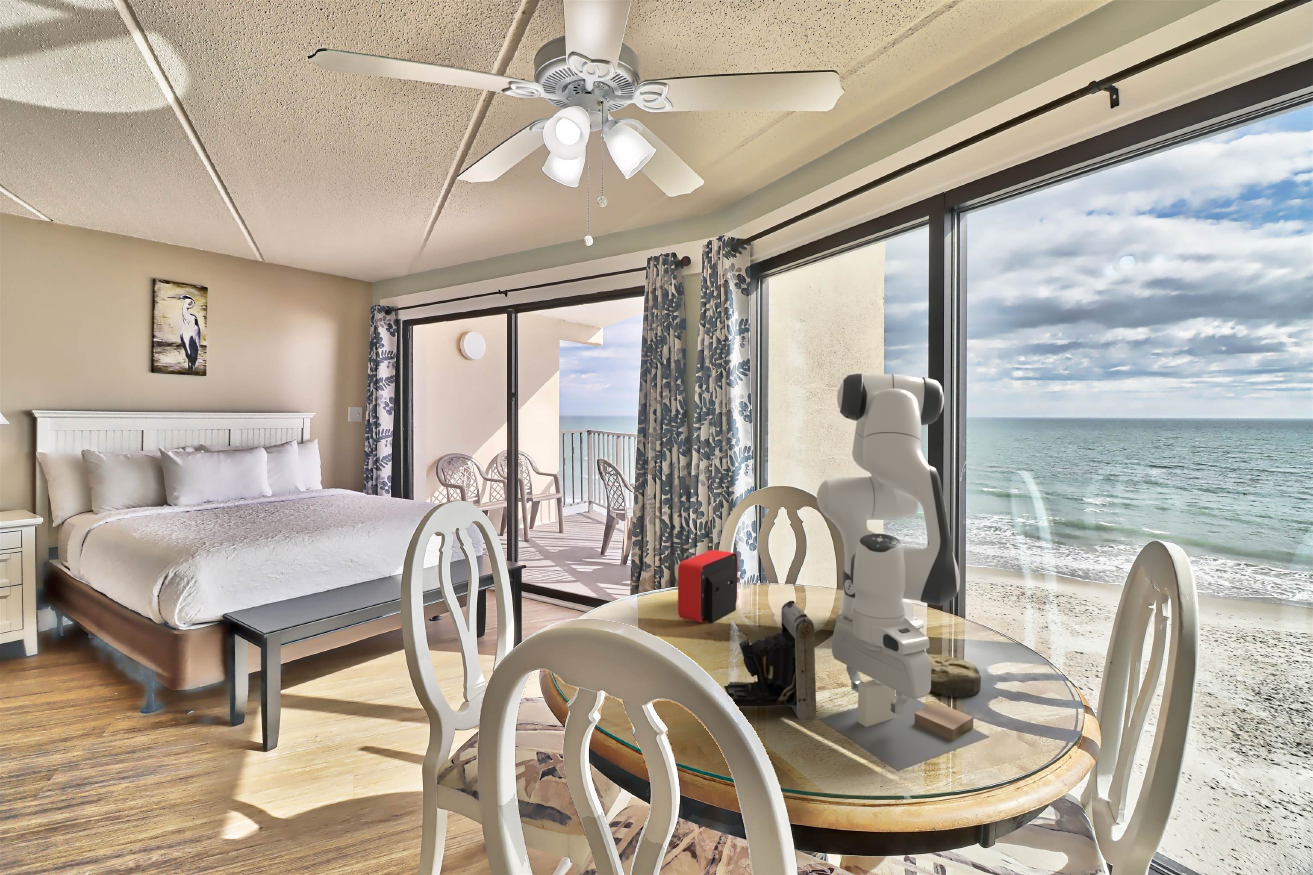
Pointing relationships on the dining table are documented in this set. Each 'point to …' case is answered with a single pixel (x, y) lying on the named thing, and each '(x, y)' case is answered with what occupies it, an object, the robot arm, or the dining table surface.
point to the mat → (899, 736)
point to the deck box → (874, 703)
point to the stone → (953, 676)
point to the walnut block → (944, 721)
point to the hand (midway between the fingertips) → (876, 701)
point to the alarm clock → (707, 586)
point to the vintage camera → (781, 667)
